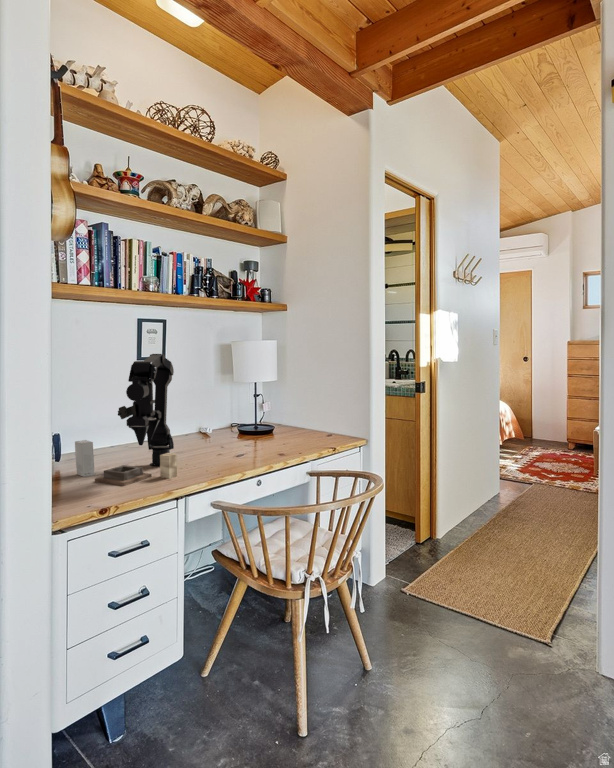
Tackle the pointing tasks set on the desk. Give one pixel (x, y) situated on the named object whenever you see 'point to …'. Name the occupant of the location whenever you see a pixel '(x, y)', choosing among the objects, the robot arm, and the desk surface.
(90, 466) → the skincare box
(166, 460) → the maple peg
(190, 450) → the desk surface
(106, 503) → the desk surface
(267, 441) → the desk surface
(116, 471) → the socket holder
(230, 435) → the desk surface
